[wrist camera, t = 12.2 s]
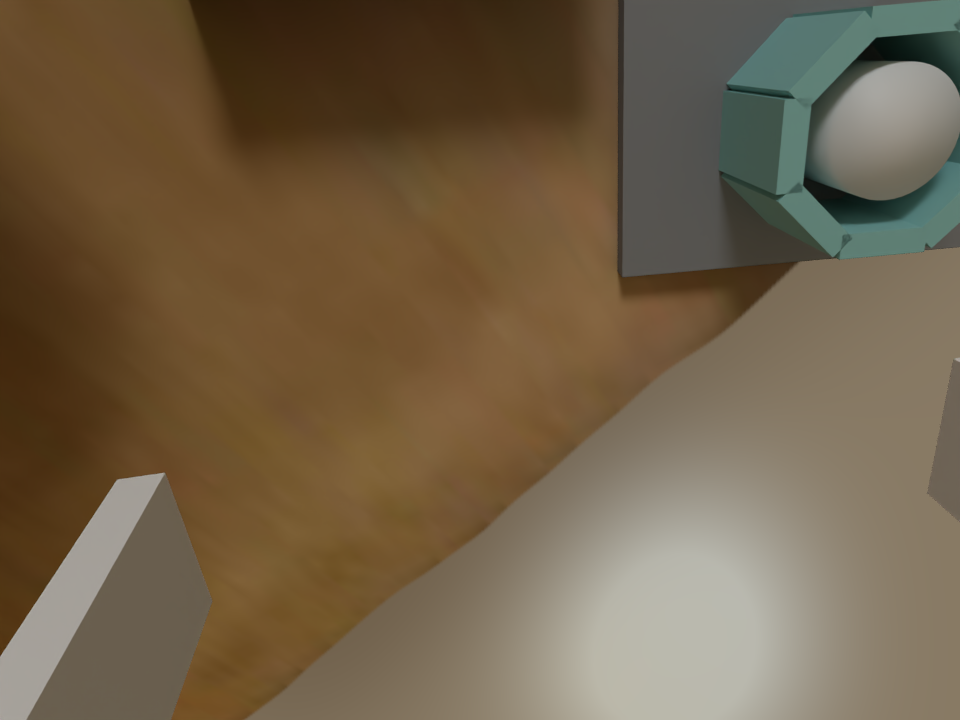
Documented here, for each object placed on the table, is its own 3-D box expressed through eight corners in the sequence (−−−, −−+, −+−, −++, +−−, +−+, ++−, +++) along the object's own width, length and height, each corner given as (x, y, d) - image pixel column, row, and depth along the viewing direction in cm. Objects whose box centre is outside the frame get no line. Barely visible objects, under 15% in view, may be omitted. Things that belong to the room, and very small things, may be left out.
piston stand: (617, 271, 35) (654, 316, 29) (618, -26, 30) (663, -45, 24) (974, 239, 35) (1082, 277, 29) (1038, -60, 30) (1187, -88, 24)
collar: (715, 230, 33) (769, 265, 28) (727, 20, 30) (792, 13, 24) (902, 213, 33) (993, 245, 28) (937, 2, 30) (1050, -10, 24)
